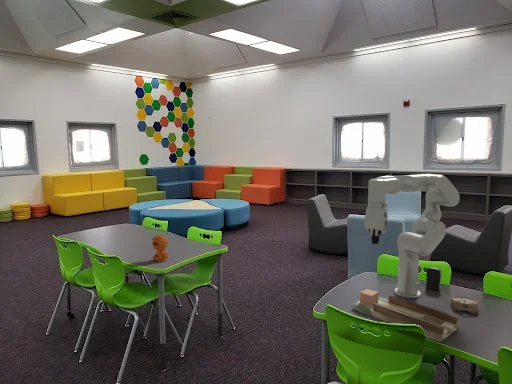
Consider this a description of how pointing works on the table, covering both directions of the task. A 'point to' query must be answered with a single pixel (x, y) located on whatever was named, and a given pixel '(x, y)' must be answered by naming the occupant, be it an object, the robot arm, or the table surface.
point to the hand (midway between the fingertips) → (375, 243)
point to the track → (412, 316)
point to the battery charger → (433, 278)
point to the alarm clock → (464, 304)
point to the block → (369, 297)
